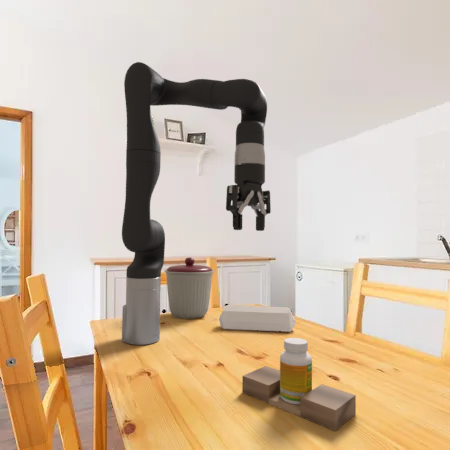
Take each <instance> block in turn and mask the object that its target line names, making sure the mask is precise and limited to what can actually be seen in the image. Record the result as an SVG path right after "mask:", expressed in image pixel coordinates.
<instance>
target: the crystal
mask: <svg viewBox="0 0 450 450" xmlns="http://www.w3.org/2000/svg"><path fill="white" fill-rule="evenodd" d="M218 321H219V325H220V327H221V328H223V330H235V331H236V330H239V331H257V330H258V331H257V332H259V331H260V332H261V331H262V332H279V331H281V332H283V333H291V331H292V330H293V329H294V327H295V326H296V319H295V317H294V315H293V314H292V312H291V309H290V308H289V307H286V306H285V307H284V306H283V307H282V306H259V305H258V306H257V305H232V304H231V305H228V304H227V305H225V306H224V308H223V310H222V312H221V314H220V315H219V318H218Z"/></svg>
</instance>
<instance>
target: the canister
mask: <svg viewBox="0 0 450 450" xmlns="http://www.w3.org/2000/svg"><path fill="white" fill-rule="evenodd" d="M195 261H196V260H195V259H194V258H193V257H187V258H185V260H184V263H185V264H179V265H178V264H177V265H172V266H169V267H167V269H165V270H164V273H165V275H166V285H167V286H166V288H167V296H168V306H169V311H170V314H171V315H172V316H173V317H175V318H178V319H184V318H185V320H186V319H187V320H188V319H189V320H190V319H198V318H202V317H204V316H206V315H207V313H208V310H209V307H210V298H211V290H212V282H213V273H215V270H214V269H212V267H210V266H207V265H200V264H195Z"/></svg>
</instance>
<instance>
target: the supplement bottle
mask: <svg viewBox="0 0 450 450" xmlns="http://www.w3.org/2000/svg"><path fill="white" fill-rule="evenodd" d="M308 343H309V342H308V341H307V340H306V339H305V338H299V337H289V338H288V337H287V338H285V339H284V340H283V348H284V351H282V352H281V354H280V357H279V366H280V367H279V370H280V397H281V398H282V400H284V401H285V402H287V403H290V404H295V405H300V397H302V396H303V395H305V394H307V393H308V392H310V391H312V390H313V357H312V356H311V354H310V353H308V350H309V349H308V347H309V345H308Z"/></svg>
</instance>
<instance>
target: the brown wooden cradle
mask: <svg viewBox="0 0 450 450" xmlns="http://www.w3.org/2000/svg"><path fill="white" fill-rule="evenodd" d="M241 382H242V385H241V387H242V388H241V389H242V394H245V395H247V396H250V397H252V398H255V399H257V400H260V401H262V402H264V403H267V404H270V405H272V406H274V407H276V408H279V409H281V410H283V411H286V412H288V413H291V414H294V415H296V416H298V417H300V418H303V419H306V420H308V421H310V422H312V423H315V424H317V425H319V426H322V427H325V428H327V429H330V430H332V431H334V432H337V431H338V430H339V429H340V428H341V427H343V425H345V424H346V423H348V421H349V420H350V419H352V418H353V417H354V416H355V415H356V414H357V412H356V410H357V409H356V407H357V406H356V403H357V402H356V394H353V393H351V392H348V391H344V390H341V389H338V388H335V387H331V386H329V385H325V384H320V385H318V386H317V387H315V388H312V391H310V392H308V393H307V394H305V395H303V396H302V397H300V405H295V404H290V403H287V402H285V401H284V400H282V398H281V397H280V369H276V368H273V367H270V366H267V365H265V366H262V367H260V368H257V369H255V370H253V371H251V372H248V373H246V374H244V375H242V381H241Z"/></svg>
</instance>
